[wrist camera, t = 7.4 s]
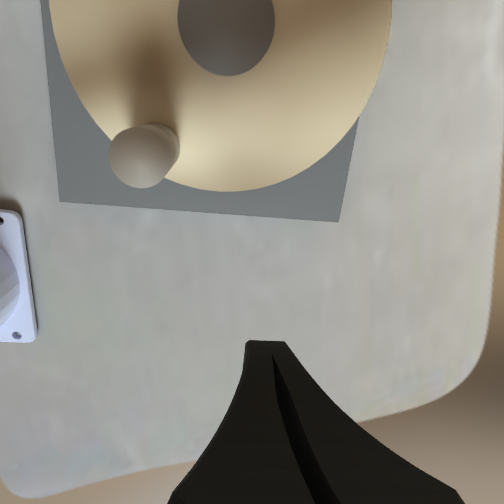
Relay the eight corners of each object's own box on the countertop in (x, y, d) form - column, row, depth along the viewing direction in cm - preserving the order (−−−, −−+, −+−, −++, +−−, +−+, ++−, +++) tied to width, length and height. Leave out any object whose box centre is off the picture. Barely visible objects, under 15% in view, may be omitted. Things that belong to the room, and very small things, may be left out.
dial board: (71, 194, 19) (47, 209, 16) (35, -238, 13) (-12, -324, 11) (330, 214, 21) (347, 230, 18) (400, -167, 15) (439, -226, 12)
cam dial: (-9, -66, 14) (-125, -151, 9) (309, -261, 12) (360, -477, 8) (170, 228, 19) (153, 270, 14) (412, 108, 17) (482, 110, 13)
